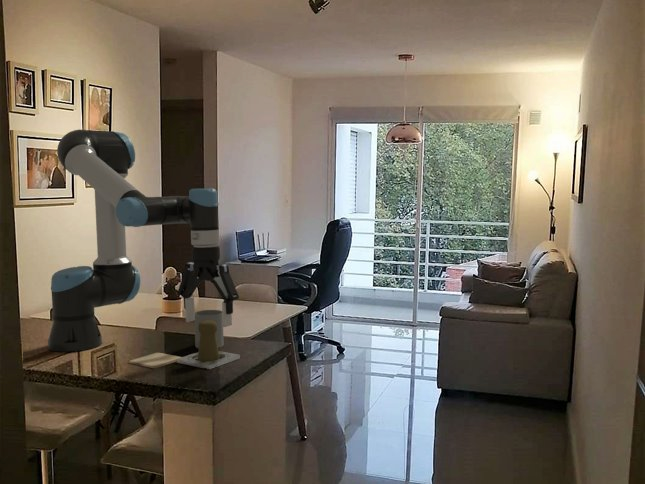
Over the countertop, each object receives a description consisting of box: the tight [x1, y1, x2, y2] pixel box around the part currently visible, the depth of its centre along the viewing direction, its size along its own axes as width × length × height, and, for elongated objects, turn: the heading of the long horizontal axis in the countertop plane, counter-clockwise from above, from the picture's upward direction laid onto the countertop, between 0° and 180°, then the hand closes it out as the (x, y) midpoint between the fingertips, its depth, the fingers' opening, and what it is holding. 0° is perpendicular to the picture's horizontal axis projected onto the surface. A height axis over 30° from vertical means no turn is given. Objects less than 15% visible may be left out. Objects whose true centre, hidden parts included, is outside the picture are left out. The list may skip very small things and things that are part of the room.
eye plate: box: [176, 350, 241, 370], centre depth 172 cm, size 12×12×1 cm
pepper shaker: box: [197, 320, 221, 362], centre depth 171 cm, size 6×6×11 cm
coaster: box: [128, 352, 183, 370], centre depth 172 cm, size 10×10×1 cm
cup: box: [194, 309, 225, 349], centre depth 187 cm, size 8×8×10 cm
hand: (208, 323), depth 171 cm, fingers open, 13 cm apart
